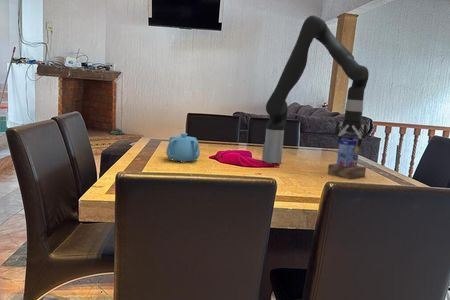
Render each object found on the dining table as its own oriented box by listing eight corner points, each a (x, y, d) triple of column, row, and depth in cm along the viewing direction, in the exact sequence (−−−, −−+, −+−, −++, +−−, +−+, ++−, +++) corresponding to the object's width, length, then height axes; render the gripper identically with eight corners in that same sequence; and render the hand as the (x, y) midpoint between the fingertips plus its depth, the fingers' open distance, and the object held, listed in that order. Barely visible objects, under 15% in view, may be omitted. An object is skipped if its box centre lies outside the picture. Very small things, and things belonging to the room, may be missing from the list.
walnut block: (327, 175, 180) (328, 164, 180) (341, 172, 188) (342, 162, 188) (350, 180, 172) (352, 169, 171) (364, 177, 179) (365, 167, 179)
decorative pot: (198, 164, 184) (199, 136, 182) (164, 162, 183) (165, 134, 181) (199, 158, 200) (201, 132, 198) (168, 156, 199) (169, 130, 197)
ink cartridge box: (347, 167, 174) (349, 135, 172) (336, 165, 178) (338, 134, 176) (358, 165, 180) (361, 134, 178) (347, 164, 184) (350, 133, 182)
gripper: (335, 108, 176) (331, 144, 179) (367, 111, 168) (362, 148, 171) (341, 108, 182) (337, 142, 185) (372, 111, 174) (367, 147, 177)
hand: (349, 145), depth 178 cm, fingers open, 8 cm apart
